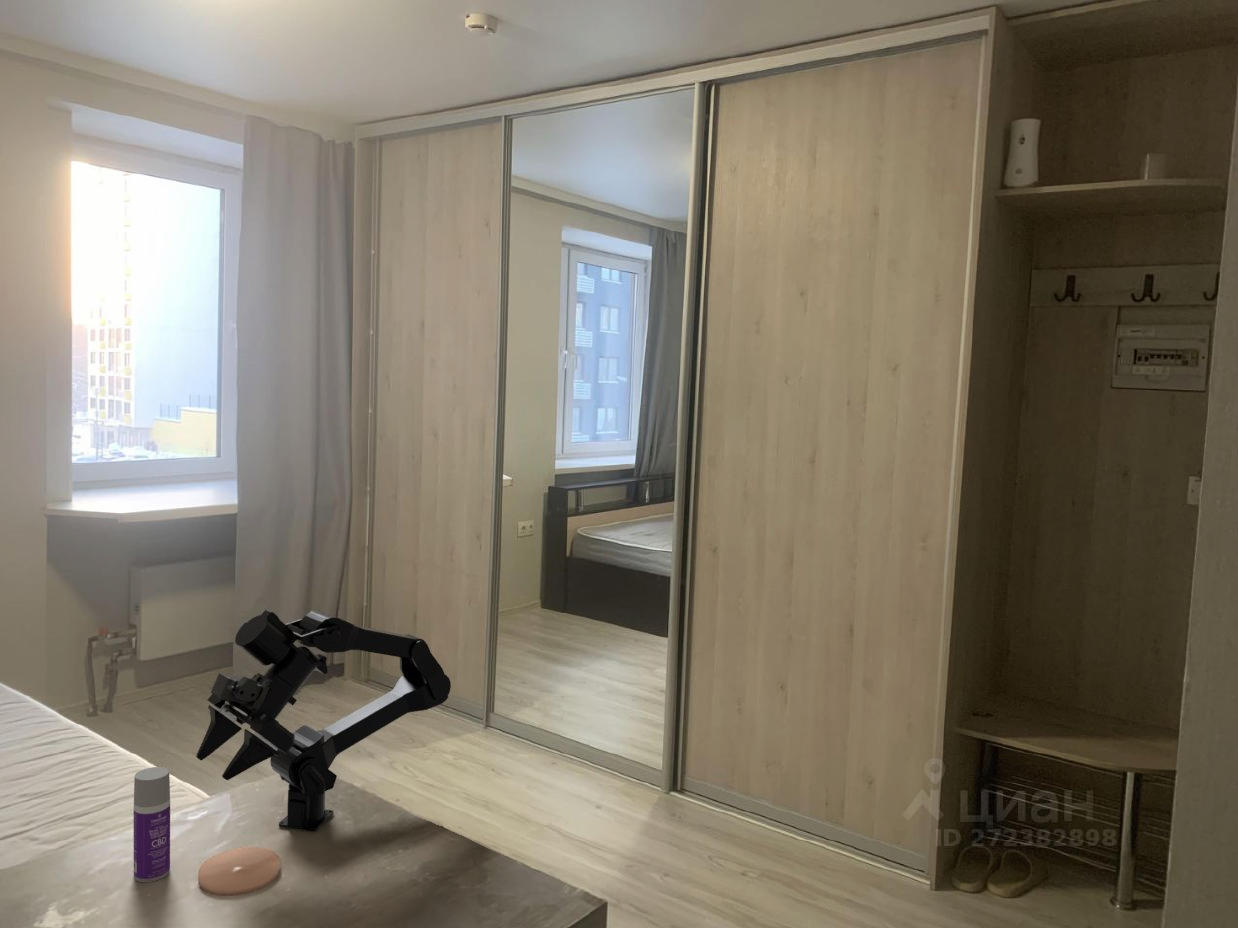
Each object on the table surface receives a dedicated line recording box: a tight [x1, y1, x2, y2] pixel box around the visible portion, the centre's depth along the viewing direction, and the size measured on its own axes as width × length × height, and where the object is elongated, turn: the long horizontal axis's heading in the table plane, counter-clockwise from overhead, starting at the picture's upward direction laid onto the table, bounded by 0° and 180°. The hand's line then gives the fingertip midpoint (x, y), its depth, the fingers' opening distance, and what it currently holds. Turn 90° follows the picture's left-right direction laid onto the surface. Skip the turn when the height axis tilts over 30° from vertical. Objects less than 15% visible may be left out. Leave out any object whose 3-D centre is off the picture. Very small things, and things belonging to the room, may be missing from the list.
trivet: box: [197, 846, 281, 896], centre depth 132 cm, size 11×11×1 cm
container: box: [133, 766, 171, 883], centre depth 130 cm, size 5×5×15 cm
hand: (211, 768), depth 136 cm, fingers open, 9 cm apart
